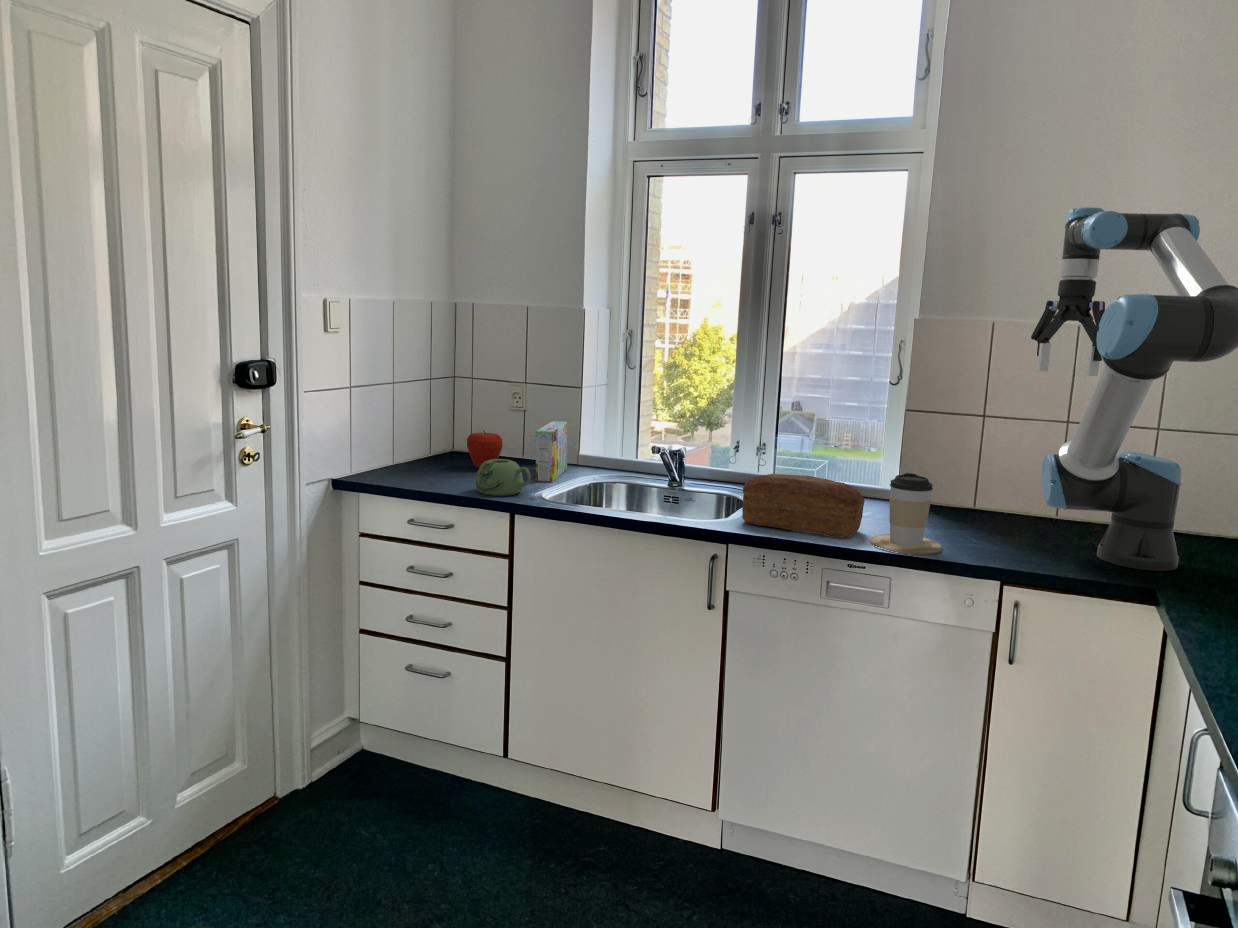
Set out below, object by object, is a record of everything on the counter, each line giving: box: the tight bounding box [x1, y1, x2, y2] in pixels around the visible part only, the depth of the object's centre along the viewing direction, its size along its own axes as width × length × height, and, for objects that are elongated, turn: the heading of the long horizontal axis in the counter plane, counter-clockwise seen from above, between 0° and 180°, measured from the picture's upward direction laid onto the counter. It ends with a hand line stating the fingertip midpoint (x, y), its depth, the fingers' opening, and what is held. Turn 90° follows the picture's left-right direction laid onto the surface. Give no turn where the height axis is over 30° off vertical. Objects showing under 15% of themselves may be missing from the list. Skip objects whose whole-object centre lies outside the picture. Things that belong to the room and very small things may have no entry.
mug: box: [475, 458, 532, 497], centre depth 236 cm, size 16×13×9 cm
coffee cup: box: [888, 472, 934, 546], centre depth 195 cm, size 9×9×15 cm
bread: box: [741, 473, 865, 538], centre depth 209 cm, size 14×28×12 cm, turn 62°
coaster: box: [870, 533, 942, 556], centre depth 196 cm, size 15×15×1 cm
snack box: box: [535, 421, 568, 483], centre depth 262 cm, size 21×6×15 cm, turn 172°
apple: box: [466, 430, 504, 470], centre depth 269 cm, size 11×11×12 cm
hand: (1066, 373), depth 203 cm, fingers open, 13 cm apart
